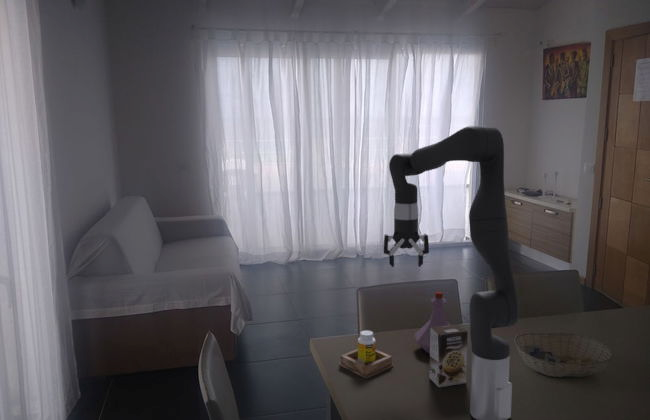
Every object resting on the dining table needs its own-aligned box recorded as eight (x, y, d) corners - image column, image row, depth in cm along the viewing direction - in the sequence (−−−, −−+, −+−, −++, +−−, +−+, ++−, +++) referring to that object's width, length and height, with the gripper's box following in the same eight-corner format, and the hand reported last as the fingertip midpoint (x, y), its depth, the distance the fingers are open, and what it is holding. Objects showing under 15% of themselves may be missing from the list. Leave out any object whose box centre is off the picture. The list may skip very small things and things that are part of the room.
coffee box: (438, 388, 147) (439, 335, 144) (428, 377, 153) (429, 326, 150) (467, 383, 149) (468, 331, 146) (455, 373, 155) (457, 323, 152)
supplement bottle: (365, 369, 157) (364, 337, 156) (354, 362, 162) (354, 332, 160) (379, 364, 160) (379, 333, 159) (368, 357, 165) (368, 327, 163)
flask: (473, 355, 167) (475, 296, 164) (430, 364, 161) (431, 304, 158) (444, 336, 182) (445, 282, 179) (404, 344, 176) (404, 288, 173)
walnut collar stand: (393, 366, 160) (393, 356, 160) (366, 378, 153) (366, 368, 152) (366, 354, 170) (366, 344, 169) (339, 365, 162) (339, 355, 161)
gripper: (427, 214, 165) (426, 263, 167) (382, 214, 166) (383, 263, 168) (430, 218, 157) (429, 269, 160) (383, 219, 158) (384, 269, 161)
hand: (405, 266), depth 164 cm, fingers open, 8 cm apart
